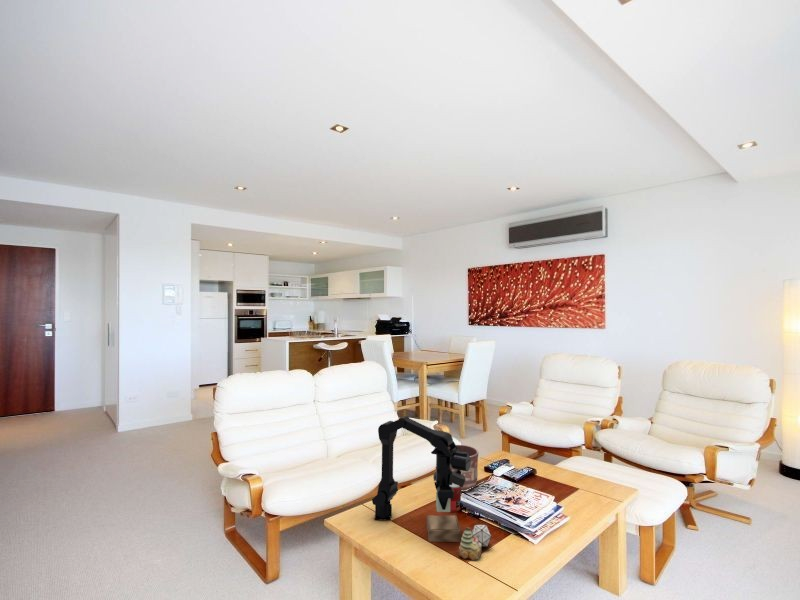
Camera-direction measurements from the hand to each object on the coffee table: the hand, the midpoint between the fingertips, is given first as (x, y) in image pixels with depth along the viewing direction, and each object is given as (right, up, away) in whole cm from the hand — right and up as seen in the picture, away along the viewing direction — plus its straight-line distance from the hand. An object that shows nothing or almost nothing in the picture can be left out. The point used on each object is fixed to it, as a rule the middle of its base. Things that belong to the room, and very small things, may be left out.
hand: (443, 506), depth 169 cm
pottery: (+13, -11, +43) cm, 46 cm away
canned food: (+6, -11, +21) cm, 24 cm away
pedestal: (0, -11, 0) cm, 11 cm away
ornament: (+8, -11, -15) cm, 20 cm away
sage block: (0, -1, 0) cm, 1 cm away
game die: (+13, -11, -9) cm, 19 cm away
